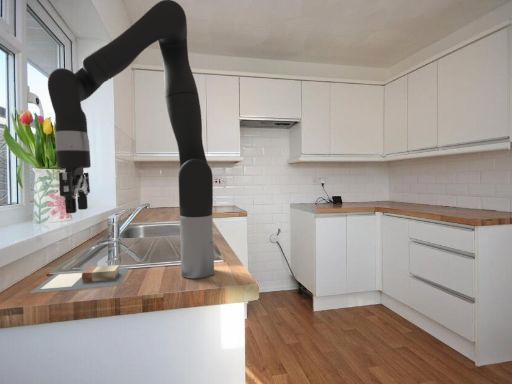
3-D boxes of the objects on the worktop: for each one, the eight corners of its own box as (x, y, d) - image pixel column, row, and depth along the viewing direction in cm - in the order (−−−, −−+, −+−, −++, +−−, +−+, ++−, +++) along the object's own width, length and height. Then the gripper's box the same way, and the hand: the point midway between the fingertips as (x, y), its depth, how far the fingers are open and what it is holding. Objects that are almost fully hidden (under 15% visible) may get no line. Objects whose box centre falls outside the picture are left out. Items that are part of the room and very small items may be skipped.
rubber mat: (129, 269, 90) (129, 267, 90) (118, 287, 75) (118, 285, 75) (56, 274, 85) (56, 272, 85) (29, 295, 71) (28, 292, 70)
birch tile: (119, 273, 84) (118, 265, 84) (114, 279, 79) (114, 270, 79) (88, 275, 82) (88, 267, 82) (82, 282, 78) (81, 273, 77)
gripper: (79, 147, 71) (84, 213, 72) (97, 151, 85) (100, 207, 86) (44, 147, 69) (49, 215, 71) (68, 152, 83) (72, 208, 84)
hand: (77, 211), depth 78 cm, fingers open, 8 cm apart
